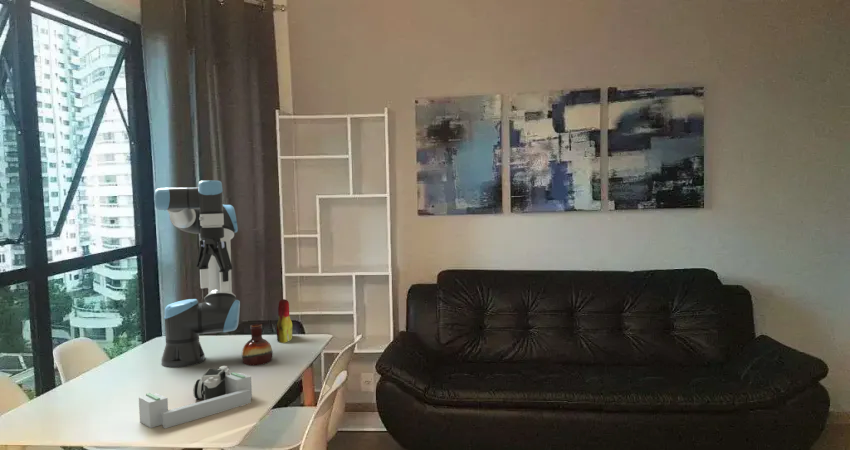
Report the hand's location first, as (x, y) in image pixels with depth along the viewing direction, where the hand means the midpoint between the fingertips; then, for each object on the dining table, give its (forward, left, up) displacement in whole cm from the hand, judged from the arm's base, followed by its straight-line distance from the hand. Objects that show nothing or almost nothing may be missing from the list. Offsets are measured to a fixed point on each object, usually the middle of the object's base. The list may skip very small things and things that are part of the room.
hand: (214, 289), depth 203 cm
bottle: (-26, +44, -32) cm, 60 cm away
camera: (+13, -9, -32) cm, 36 cm away
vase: (-8, +20, -32) cm, 38 cm away
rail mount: (+21, -17, -32) cm, 42 cm away
